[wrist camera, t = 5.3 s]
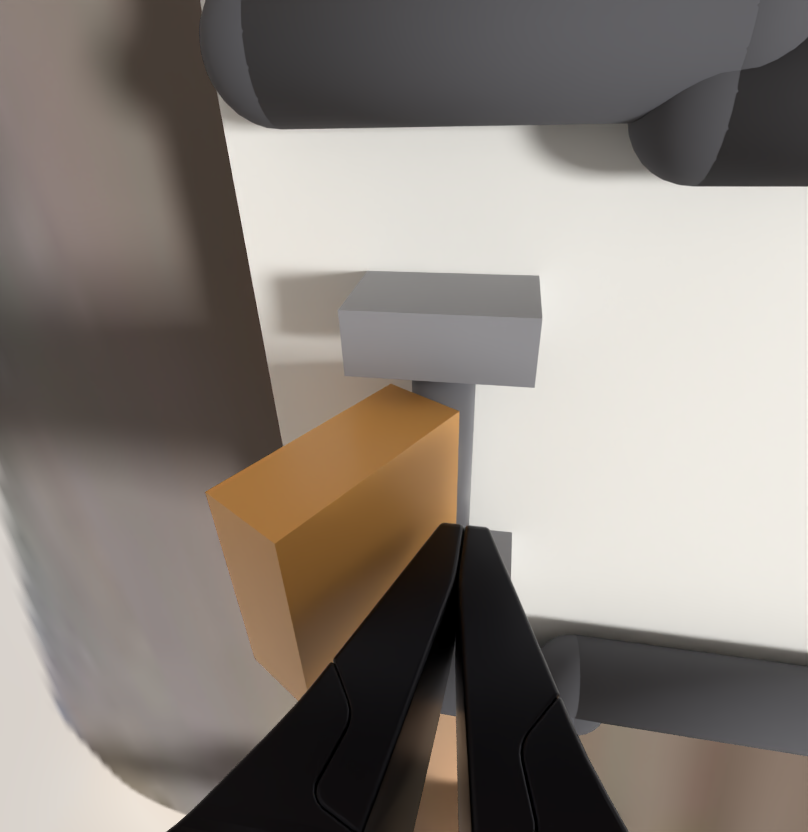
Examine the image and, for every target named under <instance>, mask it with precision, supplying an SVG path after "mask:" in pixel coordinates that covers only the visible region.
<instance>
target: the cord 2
mask: <svg viewBox="0 0 808 832" xmlns="http://www.w3.org/2000/svg"><path fill="white" fill-rule="evenodd" d="M455 641H456V640H455ZM540 649H541V651H542V654H543V656H544V658H545V661H546V663H547V665H548V668H549V670H550V672H551V675H552V677H553V680H554V682H555V684H556V687H557V689H558V691H559V694H560V696H559V698H561V699H562V700H563V702H564V705H565V707H566V710H567V712H568V714H569V717H570V719H571V721H572V724H573V726H574V728H575V730H576V732H577V734H578V735H583V734H587V733H589V732H592V731H593V730H595V729H596V728H597V727H598V726H599V725H600V724H601V723H604V724H610V725H617V726H623V727H629V728H635V729H642V730H648V731H654V732H660V733H666V734H673V735H679V736H685V737H691V738H697V739H704V740H710V741H716V742H722V743H729V744H735V745H741V746H747V747H753V748H760V749H766V750H772V751H778V752H785V753H791V754H797V755H803V756H808V666H802V665H795V664H787V663H780V662H773V661H765V660H758V659H751V658H743V657H736V656H728V655H721V654H714V653H706V652H699V651H692V650H684V649H677V648H669V647H662V646H655V645H647V644H640V643H633V642H625V641H618V640H610V639H603V638H596V637H588V636H581V635H570V634H566V635H560V636H557V637H555V638H553V639H551V640H550V641H548V642H547V643H546V644H545V645H544V646H543V647H542V648H540ZM440 714H445V715H451V716H456V687H455V647H454V654H453V659H452V664H451V668H450V673H449V677H448V682H447V686H446V690H445V695H444V699H443V704H442V708H441V712H440Z"/></svg>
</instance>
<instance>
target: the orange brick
mask: <svg viewBox="0 0 808 832" xmlns="http://www.w3.org/2000/svg"><path fill="white" fill-rule="evenodd" d="M475 389H476V384H464V383H448V382H432V381H416V380H412V392H410V391H408V390H405V389H403V388H400V387H398V386H395V385H393V384H389V385H388V386H386V387H384V388H383V389H381V390H379V391H377V392H376V393H374V394H372V395H370V396H369V397H367V398H365V399H364V400H362V401H360V402H358V403H357V404H355V405H353V406H352V407H350V408H348V409H346V410H345V411H343V412H341V413H340V414H338V415H336V416H334V417H333V418H331V419H329V420H328V421H326V422H324V423H322V424H321V425H319V426H317V427H316V428H314V429H312V430H310V431H309V432H307V433H305V434H304V435H302V436H300V437H298V438H297V439H295V440H293V441H292V442H290V443H288V444H286V445H285V446H283V447H281V448H280V449H278V450H276V451H274V452H273V453H271V454H269V455H268V456H266V457H264V458H262V459H261V460H259V461H257V462H256V463H254V464H252V465H250V466H249V467H247V468H245V469H244V470H242V471H240V472H238V473H237V474H235V475H233V476H232V477H230V478H228V479H226V480H225V481H223V482H221V483H220V484H218V485H216V486H214V487H213V488H211V489H209V490H208V491H206V492H205V493H206V497H207V500H208V503H209V507H210V510H211V513H212V517H213V520H214V524H215V527H216V530H217V534H218V537H219V540H220V544H221V547H222V550H223V554H224V557H225V560H226V564H227V567H228V570H229V574H230V577H231V580H232V584H233V587H234V591H235V594H236V597H237V601H238V604H239V607H240V611H241V614H242V617H243V621H244V624H245V627H246V631H247V634H248V637H249V641H250V644H251V648H252V651H253V654H254V658H255V659H256V660H257V661H258V662H259V663H260V664H261V665H262V666H263V667H264V668H265V669H266V670H267V671H268V672H269V673H270V674H271V675H272V676H273V677H274V678H275V679H276V680H277V681H278V682H279V683H280V684H281V685H282V686H283V687H284V688H286V689H287V690H288V691H289V692H290V693H291V694H292V695H293V696H294V697H295V698H296V699H297V700H298V701H299V700H300V699H301V697H302V696H303V695H304V694H305V693H306V691H307V690H308V689H309V688H310V687H311V685H312V684H313V683H314V682H315V681H316V679H317V678H318V677H319V676H320V674H321V673H322V672H323V671H324V669H325V668H326V667H327V666H328V664H329V663H330V662H332V663H333V658H334V657H335V656H336V655H337V653H338V652H339V651H340V649H341V648H342V647H343V646H344V644H345V643H346V642H347V641H348V639H349V638H350V637H351V636H352V634H353V633H354V632H355V631H356V629H357V628H358V627H359V626H360V624H361V623H362V622H363V620H364V619H365V618H366V617H367V615H368V614H369V613H370V612H371V610H372V609H373V608H374V607H375V605H376V604H377V603H378V602H379V600H380V599H381V598H382V597H383V595H384V594H385V593H386V591H387V590H388V589H389V588H390V586H391V585H392V584H393V583H394V581H395V580H396V579H397V578H398V576H399V575H400V574H401V573H402V571H403V570H404V569H405V568H406V566H407V565H408V564H409V562H410V561H411V560H412V559H413V557H414V556H415V555H416V554H417V552H418V551H419V550H420V549H421V547H422V546H423V545H424V544H425V542H426V541H427V540H428V538H429V537H430V536H431V535H432V533H433V532H434V531H435V530H436V528H437V527H438V526H439V525H440V524H441V523H454V524H461V525H463V526H464V529H465V527H466V526H468V525H469V518H470V497H471V475H472V453H473V432H474V410H475Z"/></svg>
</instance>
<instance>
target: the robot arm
mask: <svg viewBox="0 0 808 832" xmlns="http://www.w3.org/2000/svg"><path fill="white" fill-rule="evenodd" d="M455 640H456V641H455ZM454 647H455V687H456V733H457V779H458V825H459V832H628V830H627V828H626V826H625V825H624V823H623V821H622V819H621V817H620V816H619V814H618V812H617V810H616V809H615V807H614V805H613V803H612V801H611V800H610V798H609V796H608V794H607V792H606V790H605V788H604V787H603V785H602V783H601V781H600V779H599V777H598V775H597V773H596V771H595V770H594V768H593V766H592V764H591V762H590V760H589V758H588V756H587V754H586V752H585V750H584V747H583V745H582V743H581V741H580V739H579V737H578V734H577V732H576V730H575V728H574V726H573V724H572V721H571V719H570V717H569V714H568V712H567V710H566V707H565V705H564V702H563V700H562V699H561V698H559V696H560V694H559V691H558V689H557V687H556V684H555V682H554V680H553V677H552V675H551V672H550V670H549V668H548V665H547V663H546V661H545V658H544V656H543V654H542V651H541V649H540V647H539V644H538V642H537V640H536V637H535V635H534V632H533V630H532V628H531V625H530V623H529V621H528V618H527V616H526V614H525V611H524V609H523V607H522V604H521V602H520V600H519V597H518V595H517V592H516V590H515V588H514V585H513V583H512V581H511V578H510V576H509V574H508V571H507V569H506V567H505V564H504V562H503V560H502V557H501V555H500V552H499V550H498V548H497V545H496V543H495V541H494V538H493V536H492V534H491V531H490V530H489V528H487V527H482V526H473V525H468V526H466V527H465V529H464V526H463V525H461V524H454V523H441V524H440V525H439V526H438V527H437V528H436V530H435V531H434V532H433V533H432V535H431V536H430V537H429V538H428V540H427V541H426V542H425V544H424V545H423V546H422V547H421V549H420V550H419V551H418V552H417V554H416V555H415V556H414V557H413V559H412V560H411V561H410V562H409V564H408V565H407V566H406V568H405V569H404V570H403V571H402V573H401V574H400V575H399V576H398V578H397V579H396V580H395V581H394V583H393V584H392V585H391V586H390V588H389V589H388V590H387V591H386V593H385V594H384V595H383V597H382V598H381V599H380V600H379V602H378V603H377V604H376V605H375V607H374V608H373V609H372V610H371V612H370V613H369V614H368V615H367V617H366V618H365V619H364V620H363V622H362V623H361V624H360V626H359V627H358V628H357V629H356V631H355V632H354V633H353V634H352V636H351V637H350V638H349V639H348V641H347V642H346V643H345V644H344V646H343V647H342V648H341V649H340V651H339V652H338V653H337V655H336V656H335V657H334V658H333V663H332V662H330V663H329V664H328V666H327V667H326V668H325V669H324V671H323V672H322V673H321V674H320V676H319V677H318V678H317V679H316V681H315V682H314V683H313V684H312V685H311V687H310V688H309V689H308V690H307V691H306V693H305V694H304V695H303V696H302V697H301V699H300V700H299V701H298V702H297V703H296V704H295V706H294V707H293V708H292V709H291V710H290V711H289V712H288V713H287V714H286V715H285V716H284V717H283V718H282V720H281V721H280V722H279V723H278V724H277V725H276V726H275V727H274V728H273V729H272V730H271V731H270V732H269V733H268V734H267V735H266V736H265V737H264V738H263V739H262V740H261V741H260V742H259V743H258V744H257V745H256V746H255V747H254V748H253V749H252V750H251V751H250V753H249V754H248V755H247V756H246V757H245V758H244V759H243V760H242V761H241V762H240V763H239V764H238V765H237V766H236V767H235V768H234V769H233V770H232V771H231V772H230V773H229V774H228V775H227V776H226V777H225V778H224V779H223V780H222V781H221V782H220V783H219V784H218V785H217V786H216V787H215V788H214V789H213V790H212V791H211V792H210V793H209V794H208V795H207V796H206V797H205V798H204V799H203V800H202V801H201V802H200V803H199V804H198V805H197V806H196V807H195V808H194V809H193V810H192V811H191V812H190V813H188V814H187V815H186V816H185V817H184V818H183V819H182V820H180V821H179V822H178V823H177V824H176V825H175V826H173V827H172V828H171V829H169V830H168V831H167V832H413V831H414V826H415V822H416V817H417V813H418V809H419V804H420V800H421V796H422V791H423V787H424V782H425V778H426V774H427V769H428V765H429V760H430V756H431V752H432V747H433V743H434V739H435V734H436V730H437V725H438V721H439V717H440V712H441V708H442V704H443V699H444V695H445V690H446V686H447V682H448V677H449V673H450V668H451V664H452V659H453V654H454Z"/></svg>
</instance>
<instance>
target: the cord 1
mask: <svg viewBox="0 0 808 832" xmlns="http://www.w3.org/2000/svg"><path fill="white" fill-rule="evenodd" d="M199 37H200V48H201V54H202V58H203V62H204V65H205V68H206V71H207V74H208V76H209V79H210V80H211V82H212V84H213V86H214V87H215V89H216V90H217V92H218V93H219V95H220V96H221V97H222V99H223V100H224V101H225V102H226V103H227V104H228V105H229V106H230V107H231V108H232V109H233V110H234V111H235V112H236V113H237V114H238V115H240V116H242V117H243V118H245V119H247V120H249V121H250V122H252V123H254V124H256V125H259V126H262V127H265V128H272V129H281V130H282V129H340V128H397V127H455V126H512V125H570V124H627V123H628V133H629V138H630V141H631V144H632V147H633V150H634V152H635V153H636V155H637V157H638V158H639V160H640V162H641V163H642V164H643V165H644V166H645V167H646V168H647V169H648V170H649V171H650V172H651V173H652V174H654V175H655V176H657V177H659V178H660V179H662V180H665V181H668V182H671V183H674V184H677V185H683V186H693V187H694V186H697V187H808V0H205V3H204V7H203V10H202V14H201V18H200V25H199Z"/></svg>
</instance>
